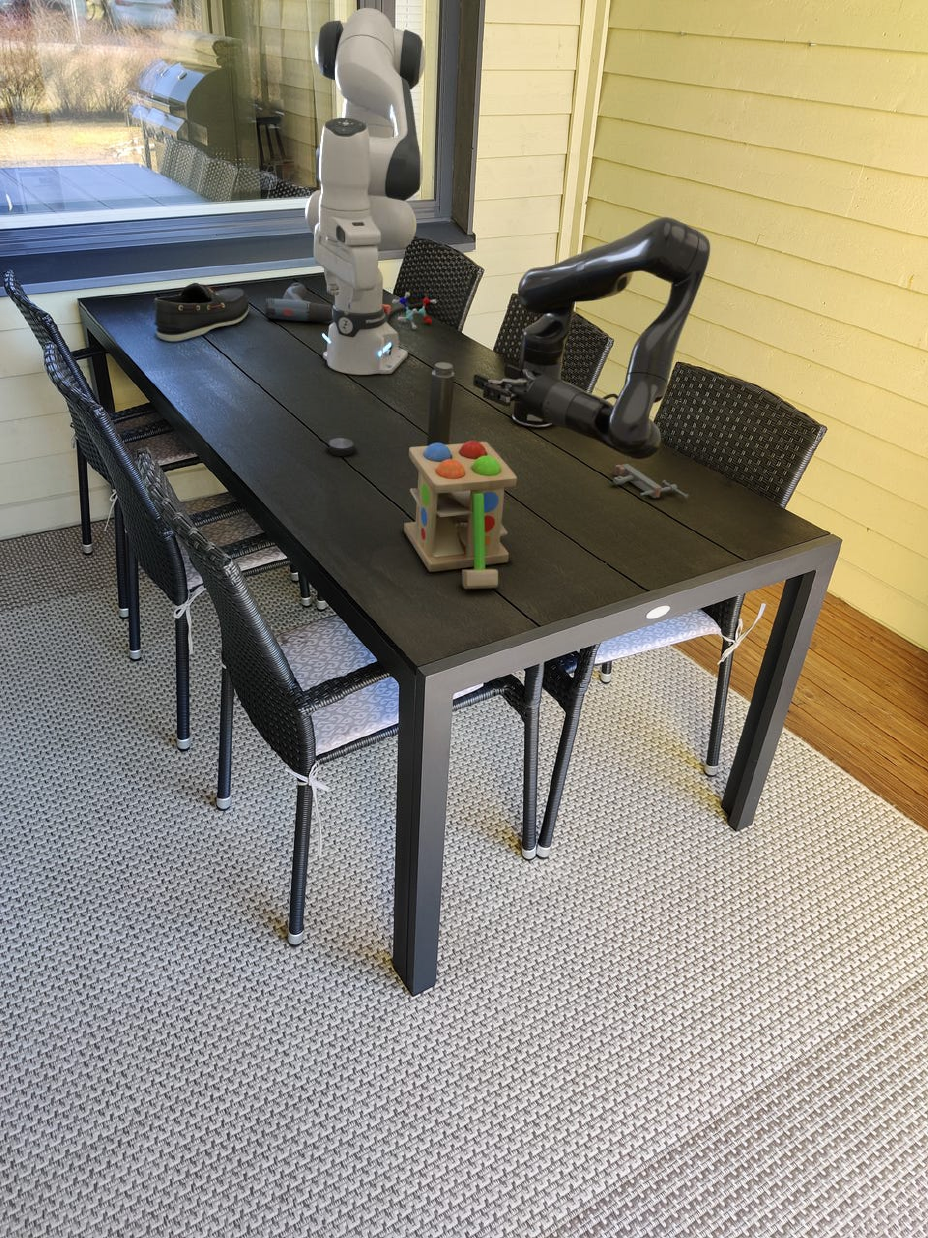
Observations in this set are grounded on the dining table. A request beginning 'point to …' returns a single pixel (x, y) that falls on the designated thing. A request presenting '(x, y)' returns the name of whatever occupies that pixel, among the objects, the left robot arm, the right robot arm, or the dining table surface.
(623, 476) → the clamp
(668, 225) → the right robot arm
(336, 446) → the lid
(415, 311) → the molecular model
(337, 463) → the dining table surface
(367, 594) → the dining table surface
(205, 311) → the boat shoe
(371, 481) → the dining table surface
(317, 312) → the power drill
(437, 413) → the dark grey cylindrical bottle
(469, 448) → the pounding bench toy
